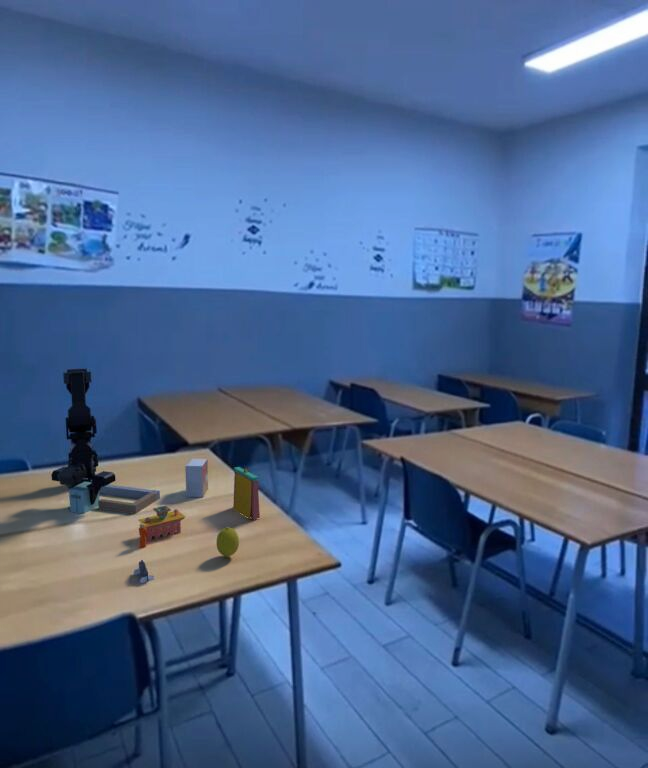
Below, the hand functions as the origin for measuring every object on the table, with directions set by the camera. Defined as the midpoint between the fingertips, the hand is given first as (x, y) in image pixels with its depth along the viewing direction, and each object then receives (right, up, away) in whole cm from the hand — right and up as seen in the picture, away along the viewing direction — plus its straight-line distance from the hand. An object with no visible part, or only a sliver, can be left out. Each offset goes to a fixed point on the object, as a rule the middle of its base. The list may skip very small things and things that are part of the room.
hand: (85, 503), depth 173 cm
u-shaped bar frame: (+8, -1, +6) cm, 10 cm away
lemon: (+48, -7, -30) cm, 57 cm away
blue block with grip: (0, -2, 0) cm, 2 cm away
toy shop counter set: (+36, -4, -12) cm, 38 cm away
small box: (+31, 0, +14) cm, 34 cm away
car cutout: (+33, -10, -43) cm, 55 cm away
